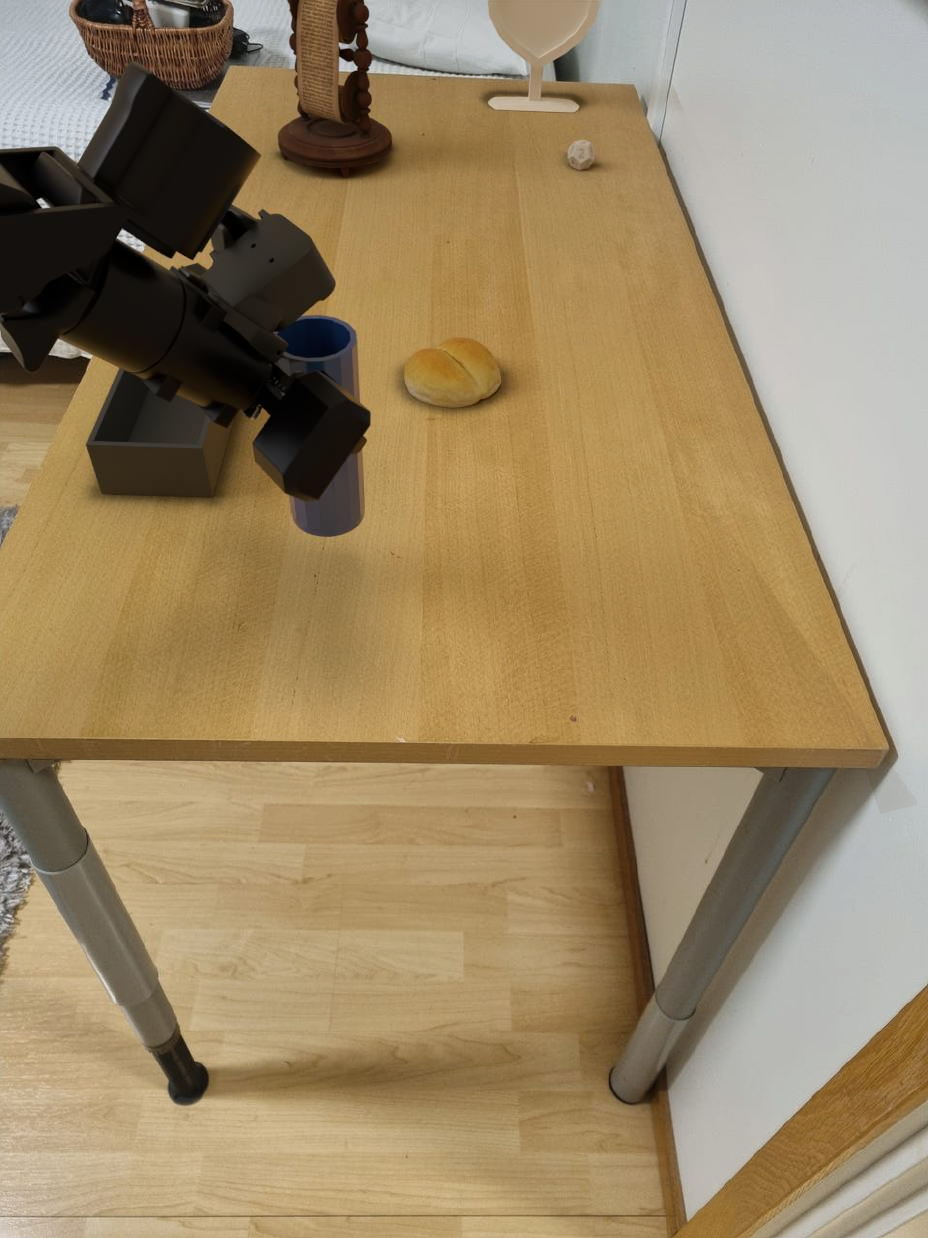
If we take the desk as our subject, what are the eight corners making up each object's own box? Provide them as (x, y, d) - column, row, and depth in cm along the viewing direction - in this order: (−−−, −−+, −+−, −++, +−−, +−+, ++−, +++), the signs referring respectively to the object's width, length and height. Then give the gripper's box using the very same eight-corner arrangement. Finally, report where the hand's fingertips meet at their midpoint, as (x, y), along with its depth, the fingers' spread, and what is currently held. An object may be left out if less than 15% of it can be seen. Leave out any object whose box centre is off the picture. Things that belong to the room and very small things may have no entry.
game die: (560, 166, 124) (563, 142, 121) (577, 158, 125) (580, 134, 123) (581, 174, 122) (584, 150, 120) (598, 166, 124) (602, 142, 122)
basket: (213, 502, 76) (202, 448, 72) (102, 498, 76) (85, 444, 72) (254, 353, 91) (246, 302, 87) (161, 350, 91) (149, 298, 87)
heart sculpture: (481, 108, 136) (489, -39, 123) (480, 96, 139) (487, -49, 126) (587, 112, 137) (606, -34, 123) (583, 100, 140) (601, -44, 127)
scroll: (256, 161, 121) (234, -21, 106) (322, 125, 130) (311, -48, 115) (351, 189, 116) (342, 4, 101) (413, 150, 125) (413, -26, 110)
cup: (310, 546, 64) (290, 369, 54) (280, 502, 67) (256, 326, 57) (377, 522, 66) (371, 347, 56) (345, 481, 69) (334, 307, 59)
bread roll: (388, 380, 89) (387, 342, 86) (465, 352, 93) (466, 316, 90) (437, 424, 85) (437, 386, 82) (515, 393, 88) (518, 356, 85)
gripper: (328, 262, 42) (499, 391, 55) (151, 125, 52) (333, 262, 65) (198, 461, 45) (391, 540, 58) (52, 295, 54) (246, 394, 67)
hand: (339, 424), depth 62 cm, fingers closed on cup, 5 cm apart
